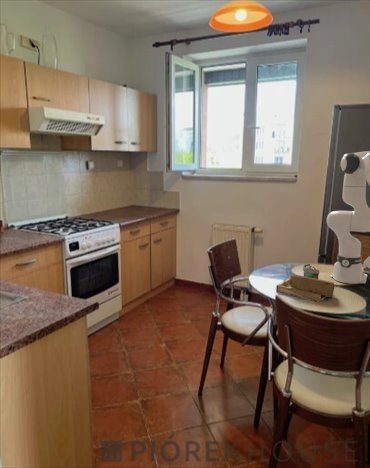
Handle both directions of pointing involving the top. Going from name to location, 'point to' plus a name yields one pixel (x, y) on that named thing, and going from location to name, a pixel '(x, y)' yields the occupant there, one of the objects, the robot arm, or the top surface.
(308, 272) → the food container
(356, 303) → the top surface
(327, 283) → the block
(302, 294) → the wooden tray
